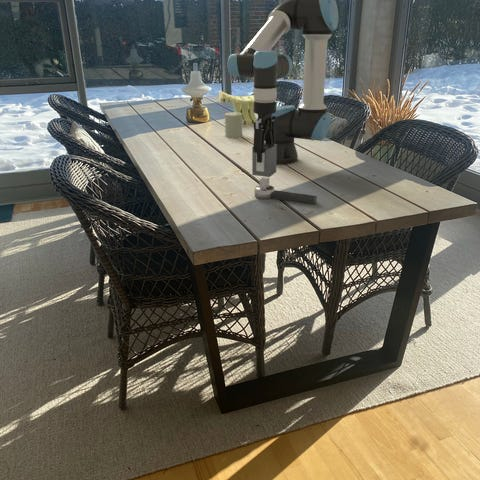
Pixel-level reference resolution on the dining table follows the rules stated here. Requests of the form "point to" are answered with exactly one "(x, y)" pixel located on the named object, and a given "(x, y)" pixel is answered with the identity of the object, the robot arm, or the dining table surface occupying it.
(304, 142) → the dining table surface
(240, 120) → the can
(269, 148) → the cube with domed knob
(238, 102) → the slatted curved stool
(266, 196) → the ratchet
